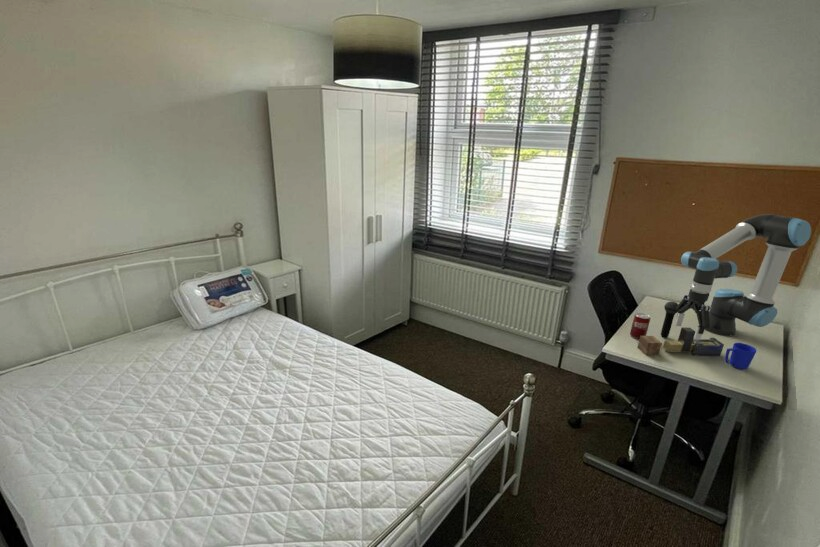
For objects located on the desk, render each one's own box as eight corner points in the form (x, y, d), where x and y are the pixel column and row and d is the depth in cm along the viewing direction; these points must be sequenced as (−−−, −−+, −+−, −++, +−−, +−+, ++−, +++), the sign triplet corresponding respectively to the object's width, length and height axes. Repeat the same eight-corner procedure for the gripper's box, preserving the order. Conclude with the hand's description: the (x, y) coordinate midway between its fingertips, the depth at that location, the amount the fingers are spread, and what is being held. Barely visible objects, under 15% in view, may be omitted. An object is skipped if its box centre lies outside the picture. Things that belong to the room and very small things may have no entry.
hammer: (711, 348, 195) (718, 328, 192) (717, 352, 192) (724, 332, 188) (662, 347, 195) (668, 327, 191) (667, 351, 191) (673, 331, 187)
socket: (650, 347, 197) (653, 335, 194) (658, 355, 190) (662, 343, 188) (637, 347, 196) (640, 335, 194) (645, 355, 190) (648, 342, 188)
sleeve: (710, 349, 197) (713, 337, 195) (720, 356, 191) (724, 344, 189) (684, 348, 197) (687, 337, 195) (693, 355, 191) (697, 343, 188)
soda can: (647, 340, 203) (653, 319, 199) (632, 339, 205) (637, 317, 201) (642, 334, 210) (647, 313, 206) (627, 332, 211) (632, 311, 207)
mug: (714, 361, 186) (721, 342, 183) (738, 361, 187) (745, 342, 184) (729, 371, 178) (736, 352, 175) (754, 371, 179) (761, 351, 176)
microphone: (661, 333, 212) (670, 298, 205) (674, 338, 206) (684, 303, 200) (653, 335, 209) (663, 300, 202) (666, 341, 204) (676, 305, 197)
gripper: (674, 281, 194) (663, 320, 201) (711, 301, 171) (697, 345, 178) (689, 281, 195) (677, 320, 202) (728, 302, 171) (714, 345, 178)
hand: (687, 332), depth 190 cm, fingers open, 13 cm apart
